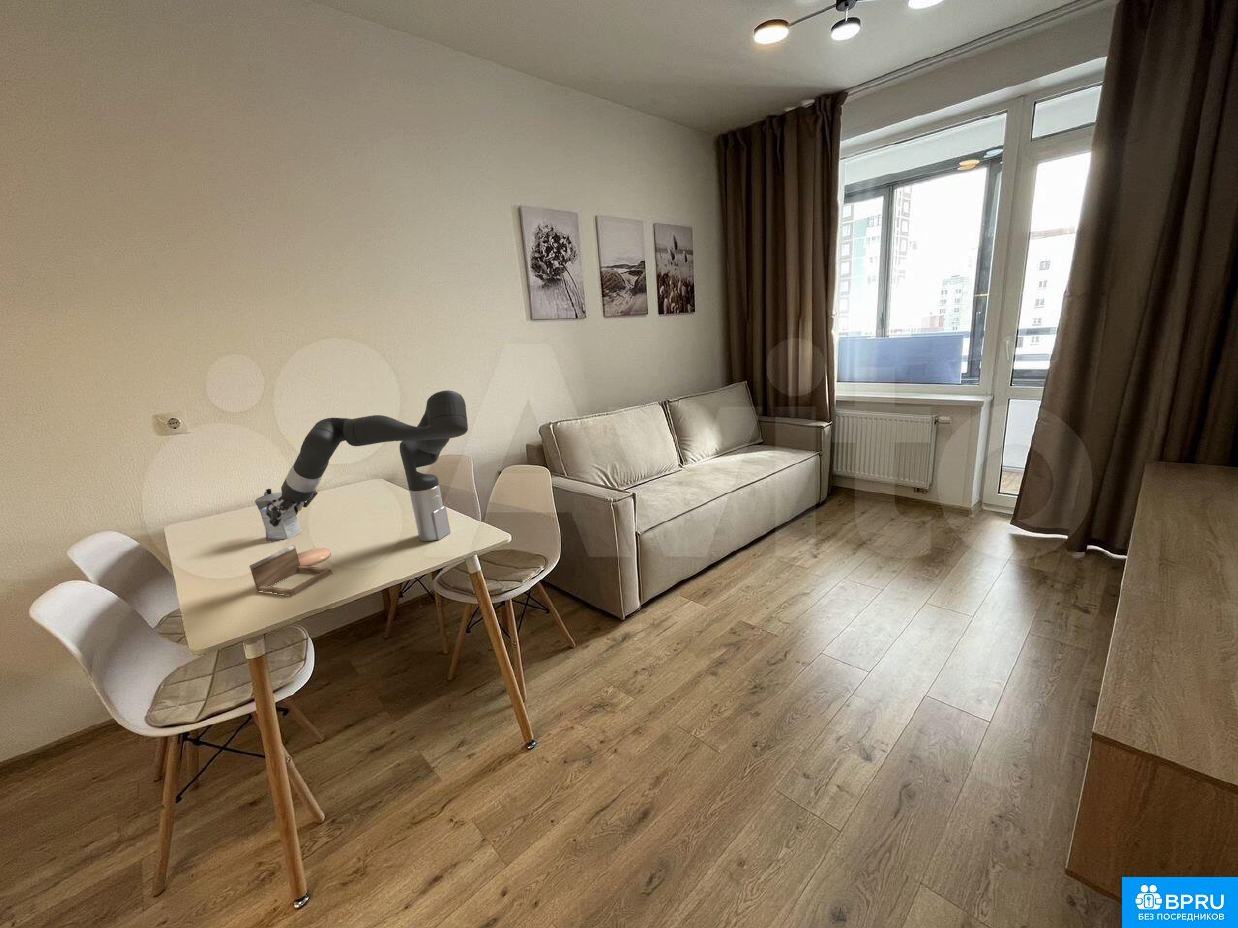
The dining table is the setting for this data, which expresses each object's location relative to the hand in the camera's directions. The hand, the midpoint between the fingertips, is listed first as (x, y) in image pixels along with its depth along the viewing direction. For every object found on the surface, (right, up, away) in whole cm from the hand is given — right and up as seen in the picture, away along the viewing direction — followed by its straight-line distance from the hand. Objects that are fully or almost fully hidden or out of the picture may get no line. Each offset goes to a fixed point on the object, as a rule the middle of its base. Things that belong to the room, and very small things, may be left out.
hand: (282, 520), depth 141 cm
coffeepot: (-27, -10, +40) cm, 50 cm away
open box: (+2, -18, +3) cm, 18 cm away
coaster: (-3, -14, +18) cm, 23 cm away
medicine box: (0, -5, +2) cm, 5 cm away
